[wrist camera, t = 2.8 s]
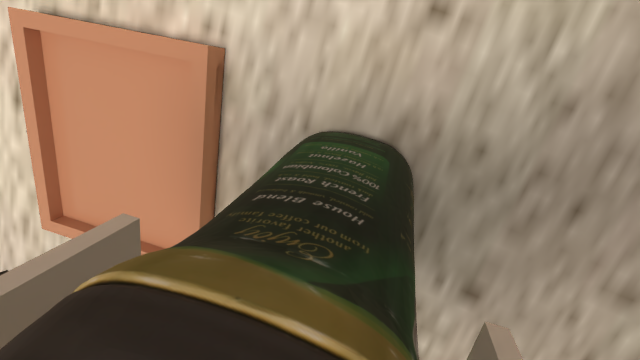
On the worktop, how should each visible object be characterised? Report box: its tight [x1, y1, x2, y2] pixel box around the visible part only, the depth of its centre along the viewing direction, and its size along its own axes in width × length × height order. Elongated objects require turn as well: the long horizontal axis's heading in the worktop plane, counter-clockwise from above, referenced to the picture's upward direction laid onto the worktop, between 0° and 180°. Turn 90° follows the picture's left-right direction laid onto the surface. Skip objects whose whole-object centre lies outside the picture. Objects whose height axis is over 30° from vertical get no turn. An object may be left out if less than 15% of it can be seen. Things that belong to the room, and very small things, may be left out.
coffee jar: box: [0, 132, 419, 360], centre depth 12 cm, size 10×8×19 cm
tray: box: [8, 7, 225, 255], centre depth 22 cm, size 14×16×2 cm
